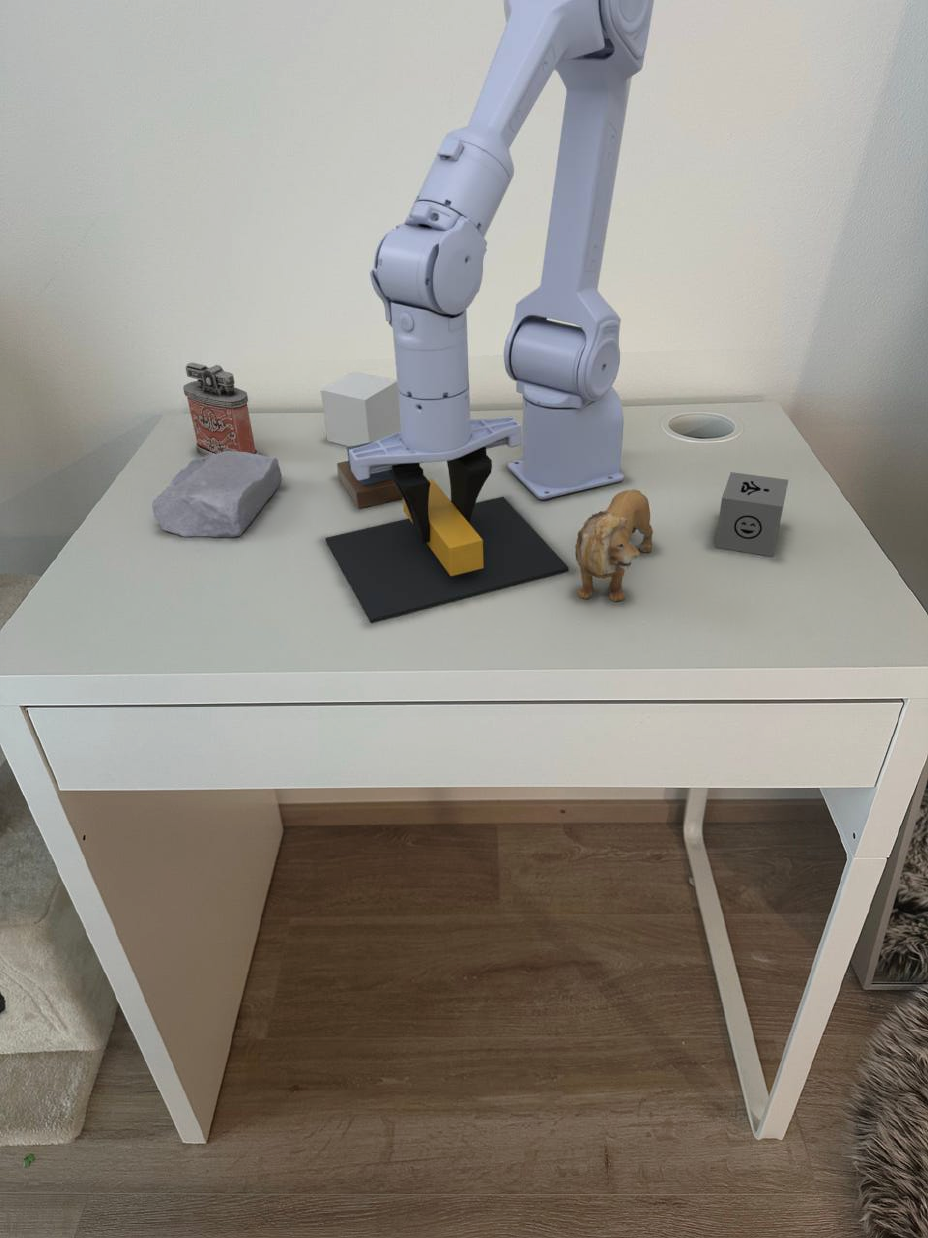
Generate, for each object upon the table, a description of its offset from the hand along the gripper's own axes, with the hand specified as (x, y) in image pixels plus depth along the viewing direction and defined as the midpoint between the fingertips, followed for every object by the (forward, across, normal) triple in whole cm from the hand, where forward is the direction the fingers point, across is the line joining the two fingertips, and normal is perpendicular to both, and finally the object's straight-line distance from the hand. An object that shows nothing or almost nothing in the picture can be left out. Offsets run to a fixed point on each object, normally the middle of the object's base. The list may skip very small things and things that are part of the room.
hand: (441, 532), depth 82 cm
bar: (+1, 0, 0) cm, 1 cm away
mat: (+2, 0, 0) cm, 2 cm away
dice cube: (+3, -26, +9) cm, 28 cm away
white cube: (+3, -1, -27) cm, 27 cm away
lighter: (+3, +14, -29) cm, 32 cm away
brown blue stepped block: (+2, +1, -15) cm, 15 cm away
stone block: (+3, +17, -18) cm, 25 cm away
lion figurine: (+3, -12, +10) cm, 16 cm away
